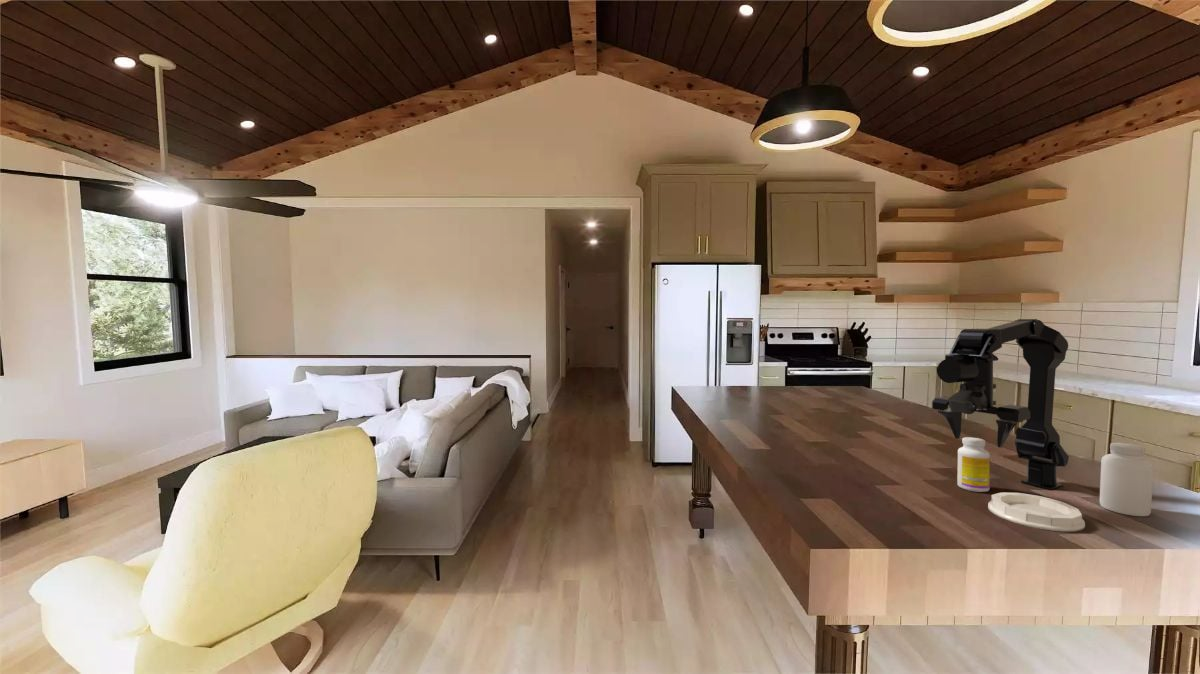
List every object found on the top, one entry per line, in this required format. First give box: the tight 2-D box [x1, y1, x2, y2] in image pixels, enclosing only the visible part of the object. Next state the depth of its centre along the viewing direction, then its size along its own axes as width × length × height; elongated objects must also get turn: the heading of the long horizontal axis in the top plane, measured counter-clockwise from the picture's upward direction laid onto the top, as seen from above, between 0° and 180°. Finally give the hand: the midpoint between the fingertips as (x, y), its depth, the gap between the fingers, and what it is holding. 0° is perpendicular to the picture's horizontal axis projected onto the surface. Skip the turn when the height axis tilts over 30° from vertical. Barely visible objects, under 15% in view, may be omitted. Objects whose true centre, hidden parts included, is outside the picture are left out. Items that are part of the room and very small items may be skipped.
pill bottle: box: [1099, 442, 1154, 517], centre depth 109 cm, size 8×8×15 cm
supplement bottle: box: [956, 436, 991, 493], centre depth 124 cm, size 7×7×13 cm
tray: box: [987, 491, 1086, 533], centre depth 107 cm, size 16×16×3 cm
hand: (977, 442), depth 118 cm, fingers open, 9 cm apart
